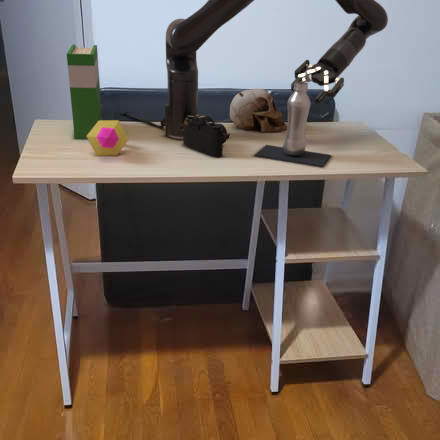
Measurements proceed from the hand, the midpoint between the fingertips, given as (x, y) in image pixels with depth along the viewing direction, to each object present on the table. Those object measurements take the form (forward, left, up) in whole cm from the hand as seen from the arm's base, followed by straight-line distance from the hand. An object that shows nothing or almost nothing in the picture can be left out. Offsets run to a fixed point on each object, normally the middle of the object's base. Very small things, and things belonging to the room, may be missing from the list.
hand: (303, 95), depth 162 cm
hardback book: (-64, -15, -16) cm, 68 cm away
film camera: (-24, -13, -16) cm, 32 cm away
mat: (+1, -8, -16) cm, 18 cm away
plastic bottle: (+1, -8, -15) cm, 17 cm away
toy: (-47, -31, -16) cm, 59 cm away
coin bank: (-18, +17, -16) cm, 29 cm away
